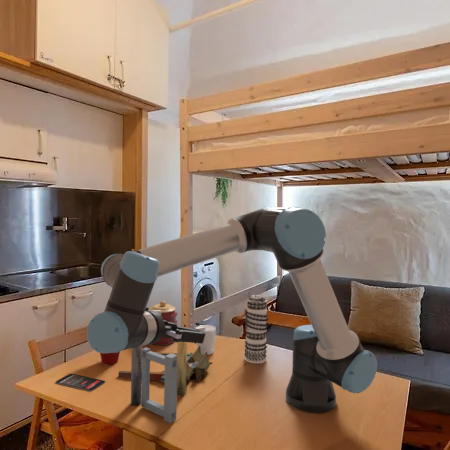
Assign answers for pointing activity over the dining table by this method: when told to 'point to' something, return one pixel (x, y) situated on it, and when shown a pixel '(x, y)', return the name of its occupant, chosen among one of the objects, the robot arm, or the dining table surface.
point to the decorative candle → (256, 329)
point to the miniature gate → (194, 364)
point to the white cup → (208, 340)
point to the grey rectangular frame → (169, 388)
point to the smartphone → (80, 382)
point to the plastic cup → (109, 358)
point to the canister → (167, 315)
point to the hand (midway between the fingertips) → (180, 323)
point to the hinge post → (136, 376)
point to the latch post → (181, 368)
